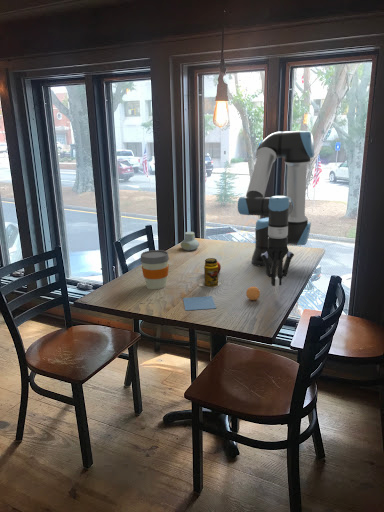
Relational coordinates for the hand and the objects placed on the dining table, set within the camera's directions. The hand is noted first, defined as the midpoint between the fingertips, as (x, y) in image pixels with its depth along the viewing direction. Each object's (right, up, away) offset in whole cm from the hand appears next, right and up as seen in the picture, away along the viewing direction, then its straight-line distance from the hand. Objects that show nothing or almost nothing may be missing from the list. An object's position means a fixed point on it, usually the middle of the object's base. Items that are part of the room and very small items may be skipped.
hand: (276, 292), depth 162 cm
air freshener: (-35, +19, +74) cm, 84 cm away
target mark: (-31, -4, -2) cm, 32 cm away
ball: (-9, 0, -1) cm, 9 cm away
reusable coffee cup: (-50, +1, +19) cm, 54 cm away
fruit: (-24, +6, +31) cm, 40 cm away
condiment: (-26, +2, +18) cm, 32 cm away
